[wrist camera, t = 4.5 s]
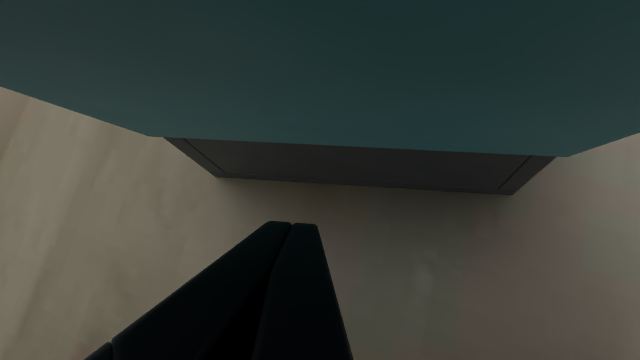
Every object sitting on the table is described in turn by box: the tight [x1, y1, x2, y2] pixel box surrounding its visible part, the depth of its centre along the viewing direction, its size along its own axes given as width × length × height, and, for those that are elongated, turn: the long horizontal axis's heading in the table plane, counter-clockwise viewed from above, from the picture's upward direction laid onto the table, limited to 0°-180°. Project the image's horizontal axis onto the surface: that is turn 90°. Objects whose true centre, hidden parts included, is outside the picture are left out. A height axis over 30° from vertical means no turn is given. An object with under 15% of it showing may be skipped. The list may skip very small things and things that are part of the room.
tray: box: [163, 137, 556, 195], centre depth 21 cm, size 14×14×6 cm
